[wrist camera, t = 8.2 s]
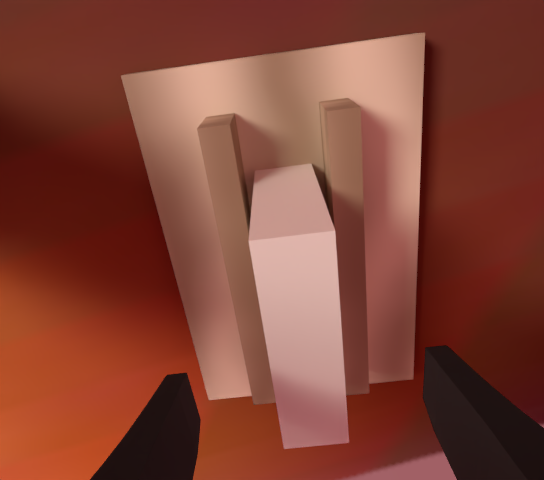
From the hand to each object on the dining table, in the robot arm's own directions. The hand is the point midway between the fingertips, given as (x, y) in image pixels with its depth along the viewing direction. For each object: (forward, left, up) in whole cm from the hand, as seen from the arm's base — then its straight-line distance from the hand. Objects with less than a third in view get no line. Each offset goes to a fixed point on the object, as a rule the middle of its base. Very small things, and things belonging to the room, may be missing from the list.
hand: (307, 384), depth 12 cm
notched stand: (0, 0, -9) cm, 9 cm away
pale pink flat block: (0, 0, -8) cm, 8 cm away
